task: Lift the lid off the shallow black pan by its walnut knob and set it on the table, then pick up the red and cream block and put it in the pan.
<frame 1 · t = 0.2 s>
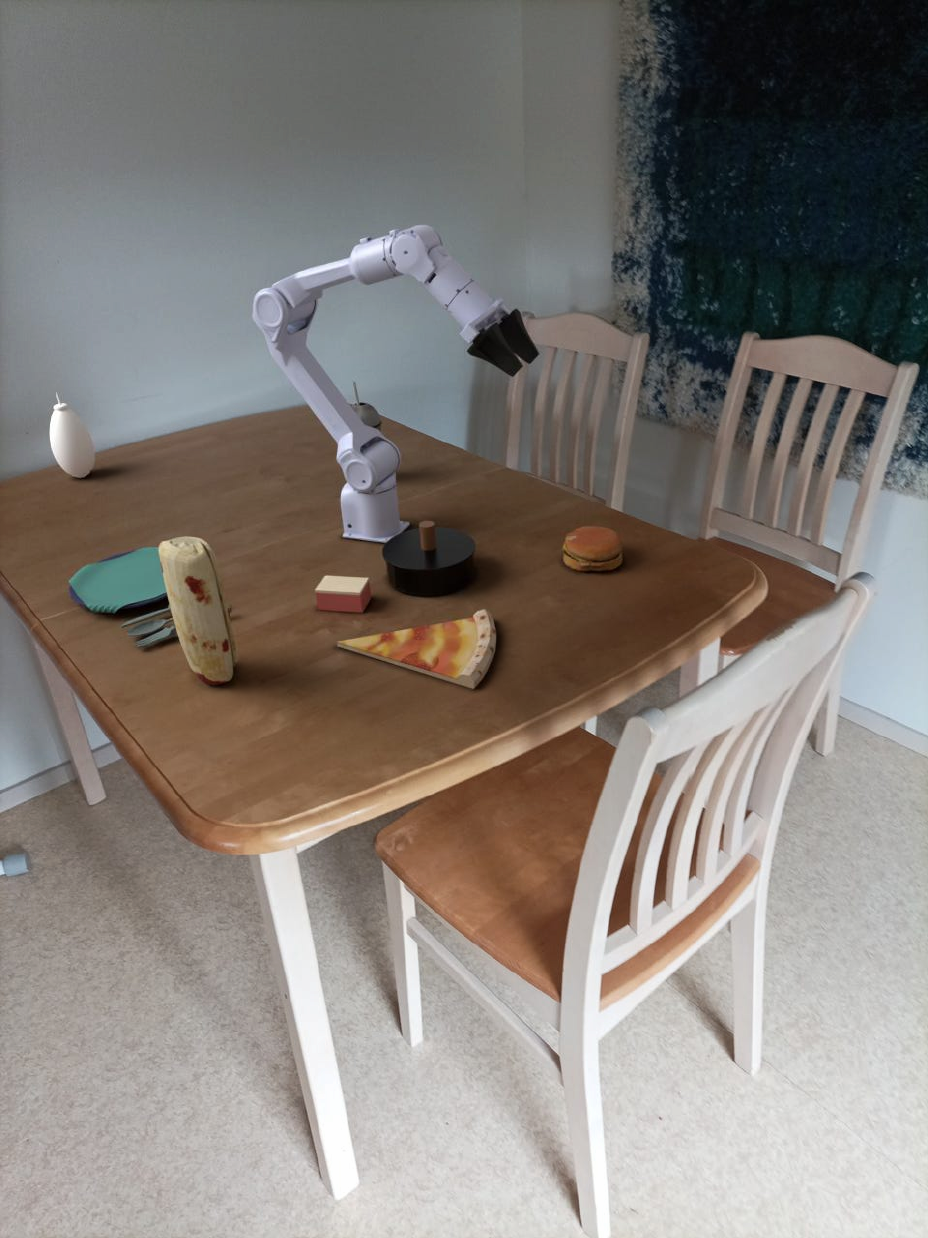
hand: (526, 365, 127), 31 cm above the table, tool tilted 45°, fingers open, 7 cm apart
pizza slice: (434, 640, 123), on the table
food model: (215, 675, 118), on the table
pan lid: (428, 550, 136), point 4 cm above the table, touching pan
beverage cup: (369, 480, 174), on the table
red and cream block: (345, 603, 132), on the table
pan: (430, 575, 139), on the table
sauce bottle: (81, 476, 184), on the table
burger: (591, 561, 140), on the table
cutlery set: (148, 599, 137), on the table
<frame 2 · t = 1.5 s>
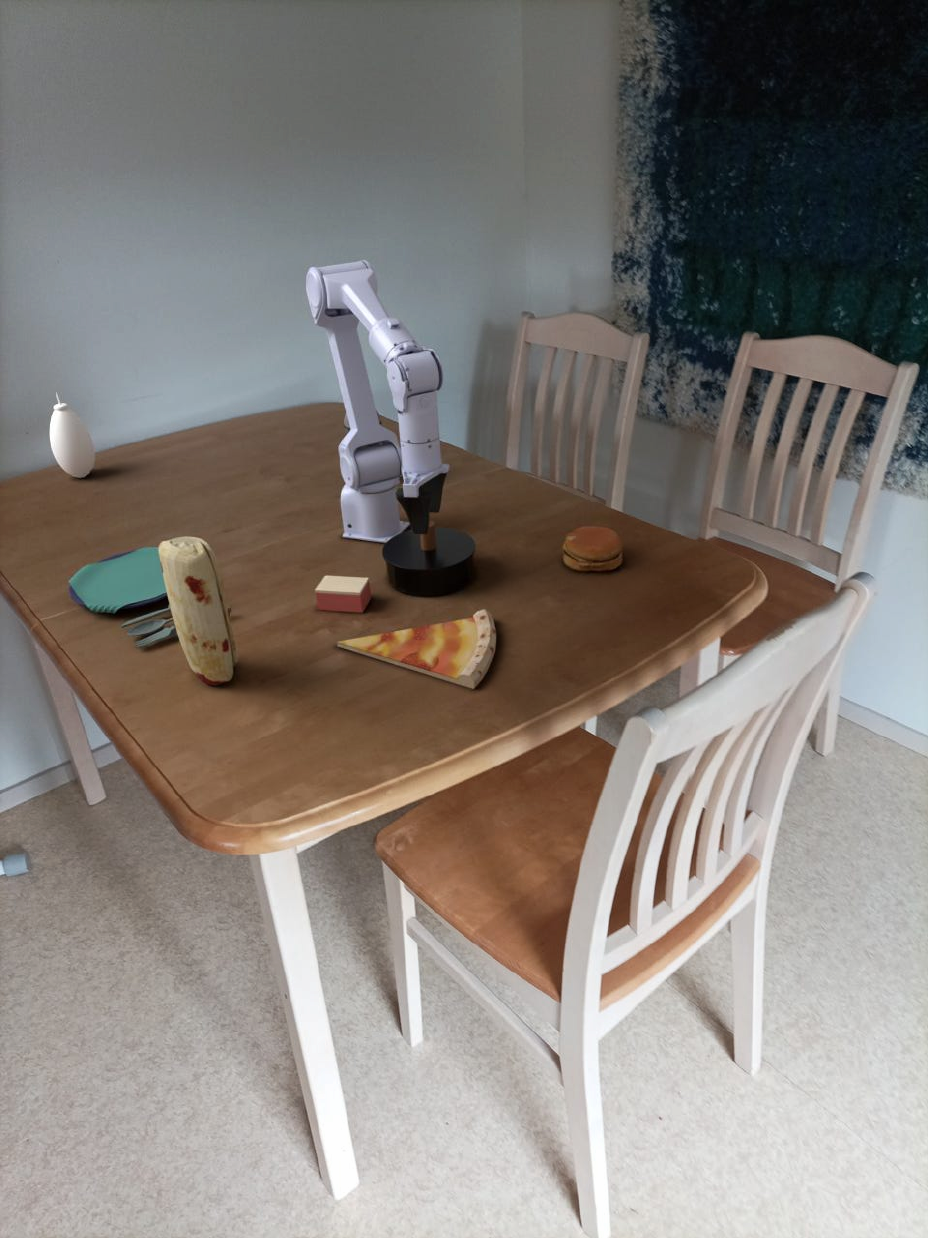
hand: (426, 522, 134), 9 cm above the table, tool pointing down, fingers open, 7 cm apart
nothing on the table moved.
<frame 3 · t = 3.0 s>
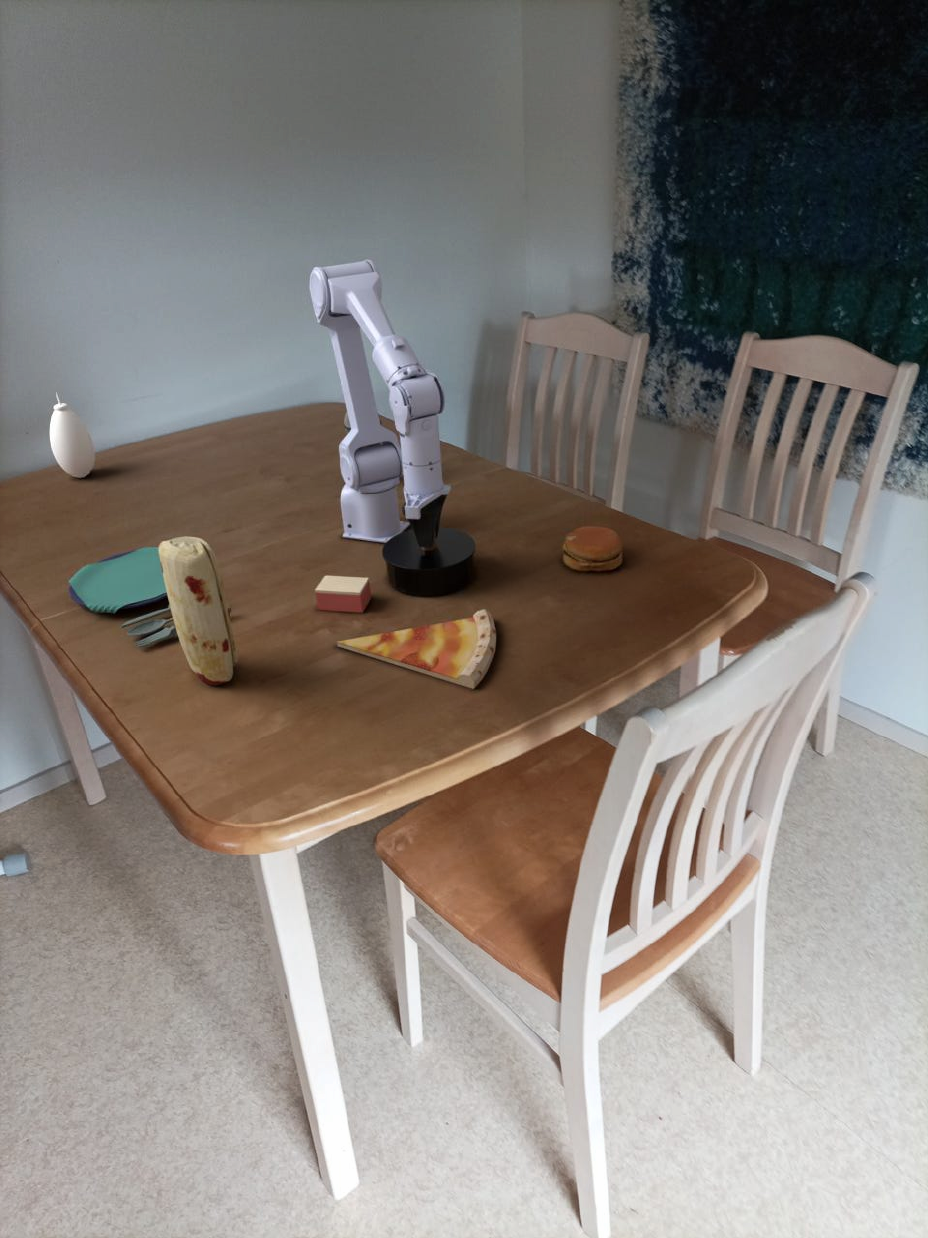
hand: (428, 542, 136), 6 cm above the table, tool pointing down, fingers closed on pan lid, 2 cm apart
pan lid: (428, 550, 136), point 4 cm above the table, touching gripper, pan
everything else where it was.
when the fingers open (2 cm above the table, at t = 7.1 s): pan lid stays where it is, point 1 cm above the table.
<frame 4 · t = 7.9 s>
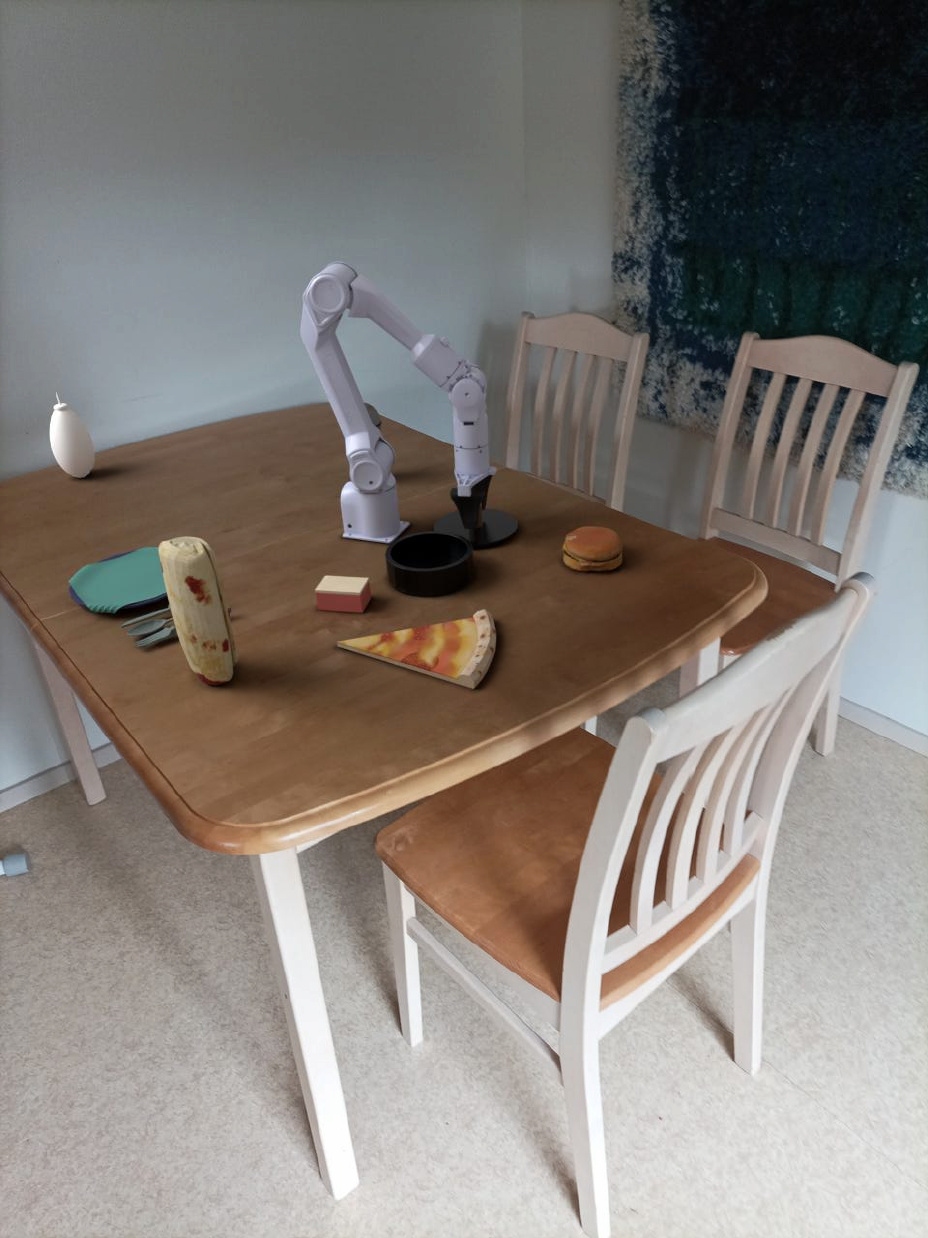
hand: (474, 518, 150), 2 cm above the table, tool pointing down, fingers open, 7 cm apart
pan lid: (475, 527, 151), point 1 cm above the table
everything else where it was.
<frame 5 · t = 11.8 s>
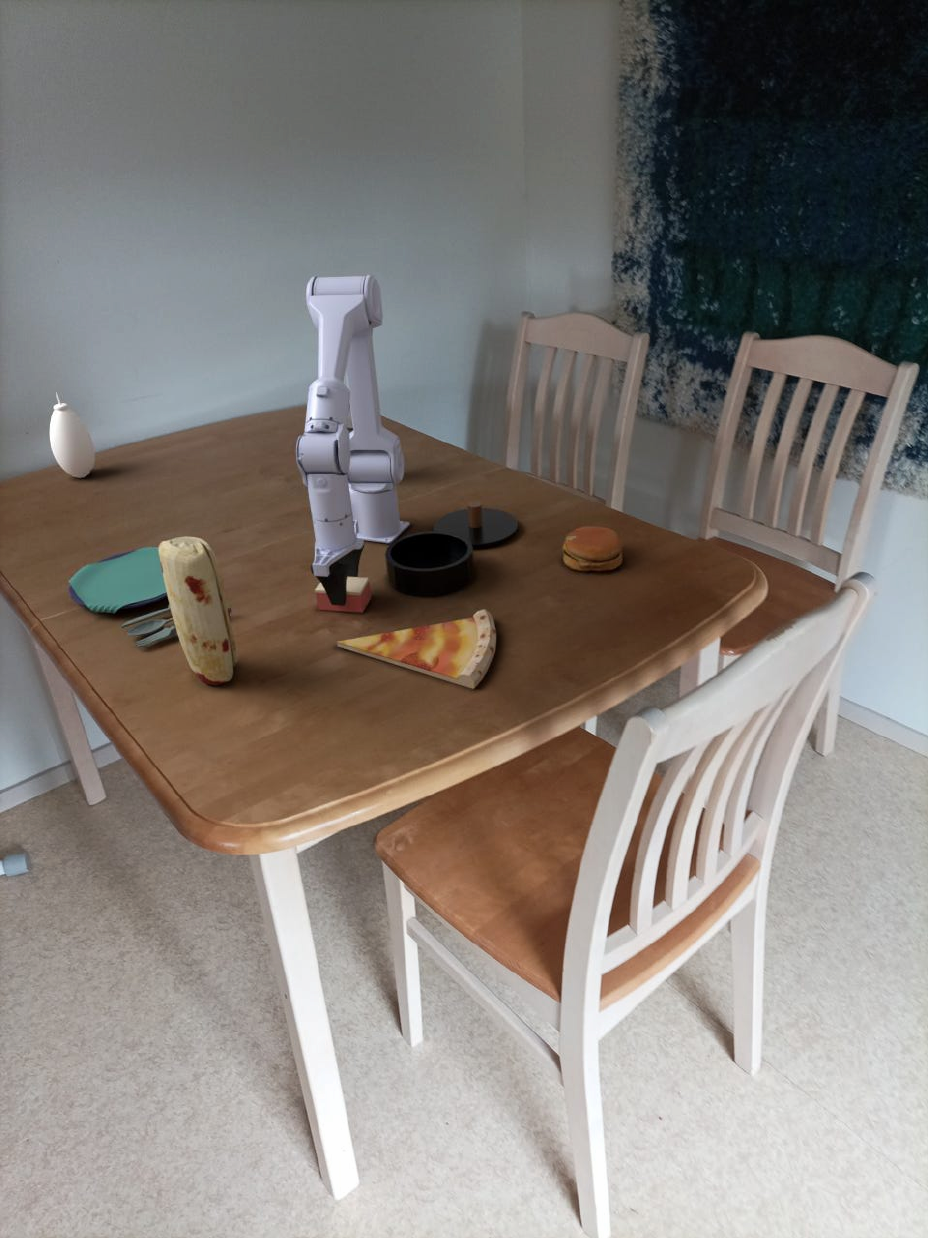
hand: (343, 595, 132), 1 cm above the table, tool pointing down, fingers closed on red and cream block, 4 cm apart
red and cream block: (345, 603, 132), on the table, touching gripper
everything else where it was.
when the fingers open (2 cm above the table, at t = 16.8 s): red and cream block stays where it is, resting on pan.
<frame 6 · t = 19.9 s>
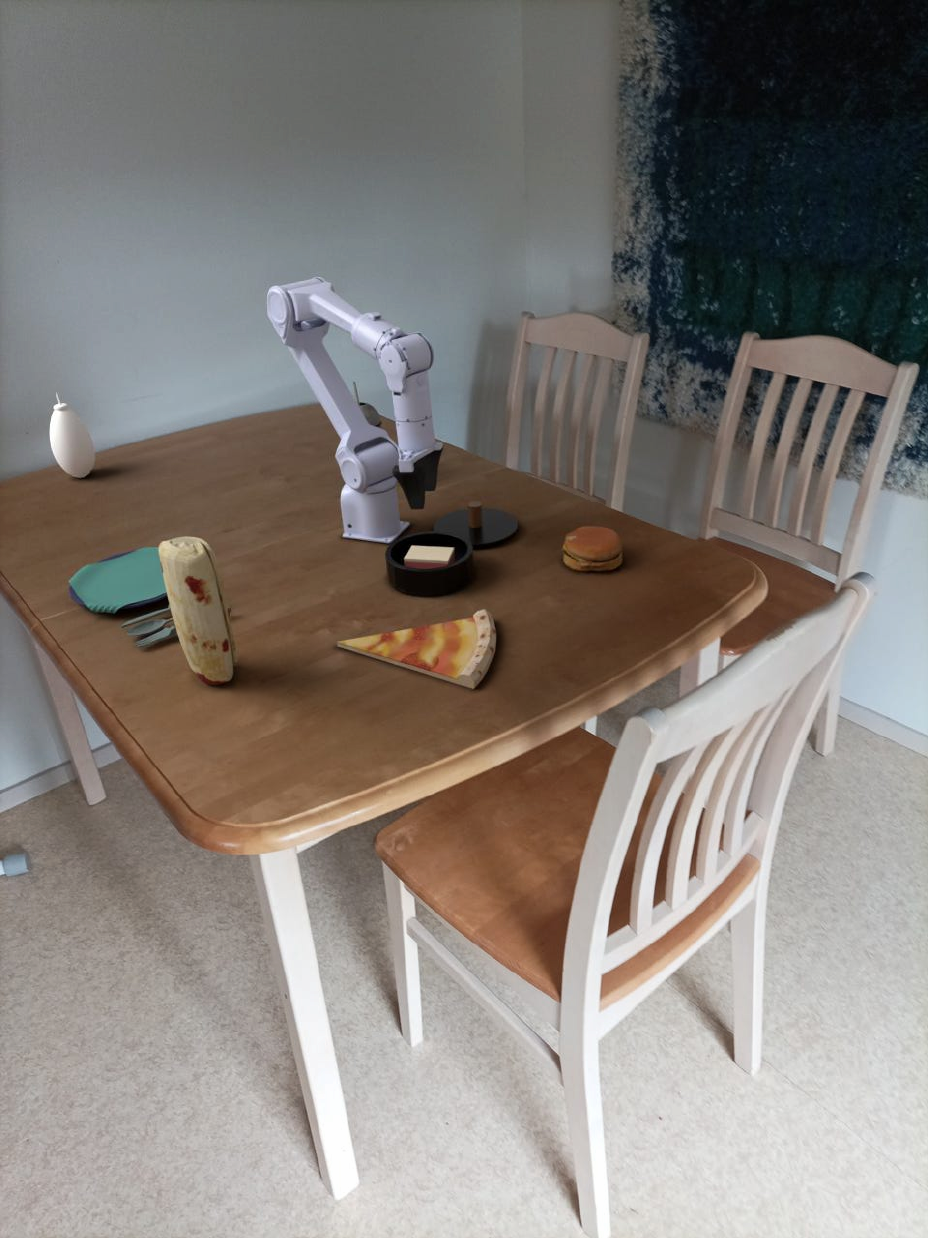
hand: (423, 499, 141), 9 cm above the table, tool pointing down, fingers open, 7 cm apart
red and cream block: (431, 572, 138), point 1 cm above the table, touching pan
everything else where it was.
at the end: pan lid inside the target area (0.1 cm from its centre), point 0.6 cm above the table; pan lid tilted 0°; red and cream block inside the target area in the pan (0.0 cm from its centre), point 0.5 cm above the pan's base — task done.
